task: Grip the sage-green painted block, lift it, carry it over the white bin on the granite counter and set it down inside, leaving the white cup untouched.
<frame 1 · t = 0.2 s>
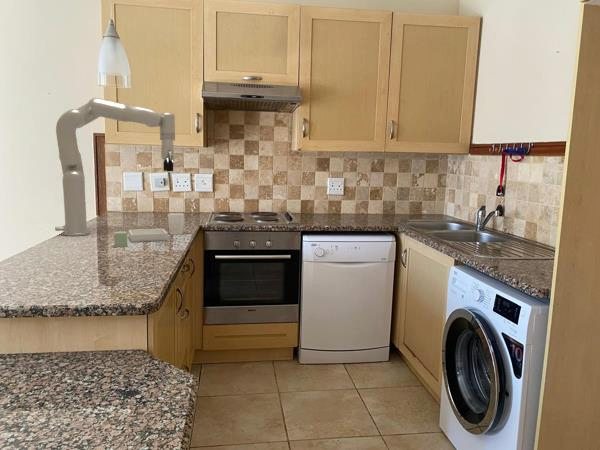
hand: (168, 170, 252), 31 cm above the counter, tool pointing down, fingers open, 9 cm apart
green block: (120, 246, 209), on the counter
white cup: (176, 234, 244), on the counter
white bin: (148, 238, 228), on the counter
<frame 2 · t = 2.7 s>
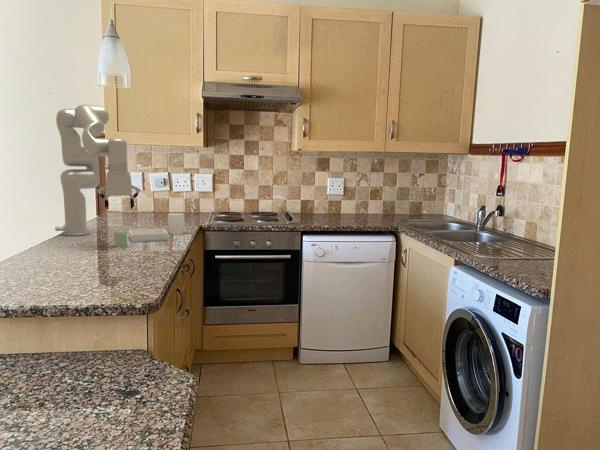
hand: (119, 208, 207), 16 cm above the counter, tool pointing down, fingers open, 9 cm apart
nothing on the counter moved.
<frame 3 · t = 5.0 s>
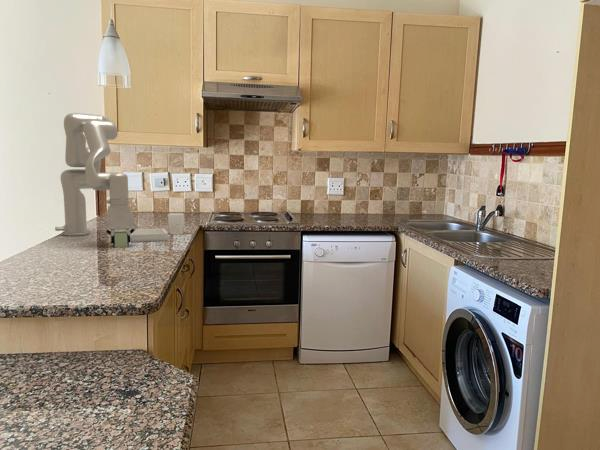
hand: (120, 244, 209), 1 cm above the counter, tool pointing down, fingers closed on green block, 5 cm apart
green block: (120, 246, 209), on the counter, touching gripper
everything else where it was.
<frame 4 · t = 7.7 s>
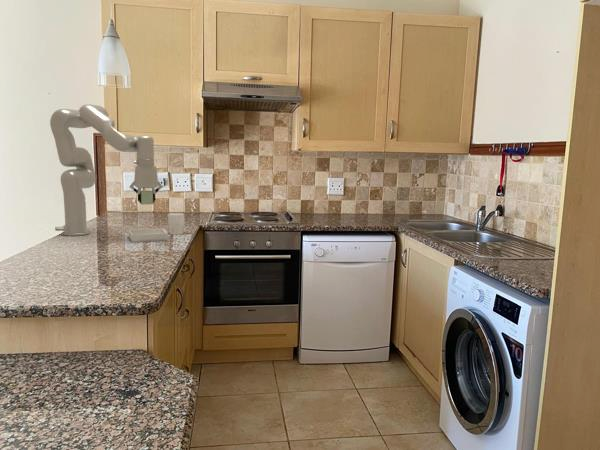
hand: (146, 202, 226), 17 cm above the counter, tool pointing down, fingers closed on green block, 5 cm apart
green block: (146, 204, 226), point 16 cm above the counter, touching gripper
everything else where it was.
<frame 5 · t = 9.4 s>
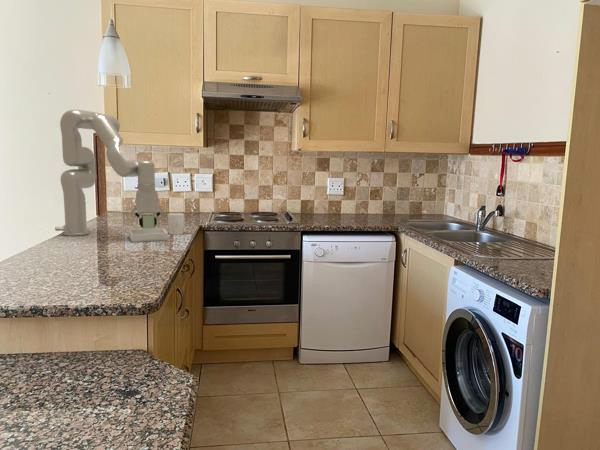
hand: (148, 226, 227), 6 cm above the counter, tool pointing down, fingers closed on green block, 5 cm apart
green block: (148, 227, 227), point 5 cm above the counter, touching gripper
everything else where it was.
when the fingers open (4 cm above the counter, at t = 10.6 s): green block drops 2 cm, resting on white bin.
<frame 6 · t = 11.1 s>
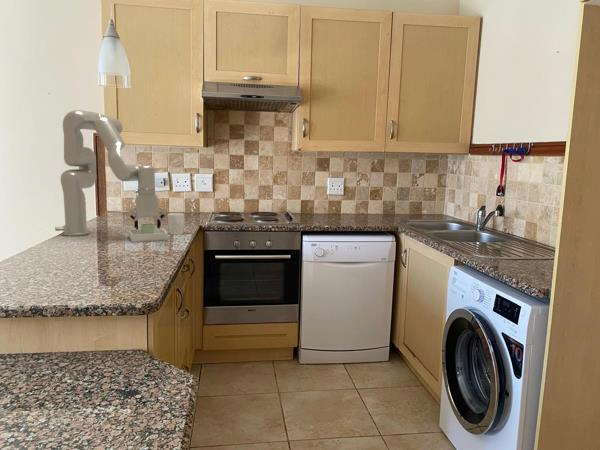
hand: (147, 228, 227), 5 cm above the counter, tool pointing down, fingers open, 9 cm apart
green block: (147, 237, 228), point 1 cm above the counter, touching white bin
everything else where it was.
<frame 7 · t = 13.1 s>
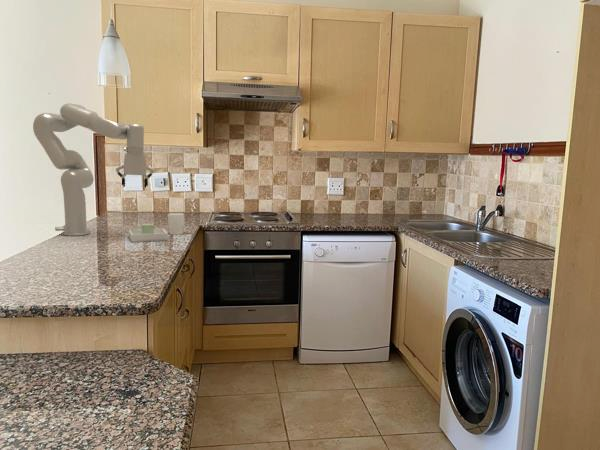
hand: (134, 187, 232), 24 cm above the counter, tool pointing down, fingers open, 9 cm apart
nothing on the counter moved.
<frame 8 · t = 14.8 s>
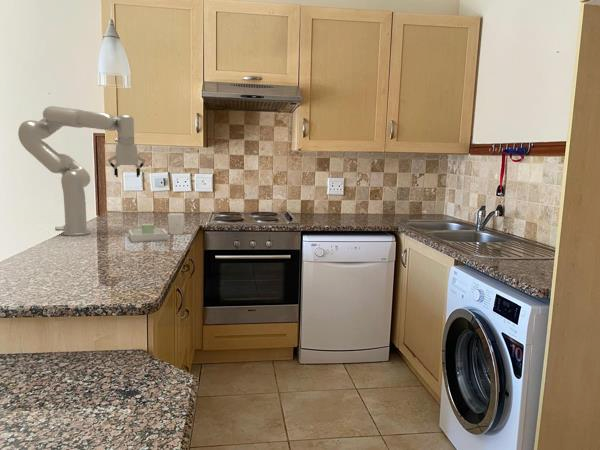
hand: (127, 176, 237), 28 cm above the counter, tool pointing down, fingers open, 9 cm apart
nothing on the counter moved.
at the end: green block inside the target area on the white bin (0.1 cm from its centre), point 0.8 cm above the white bin's base; the gripper is holding nothing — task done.
